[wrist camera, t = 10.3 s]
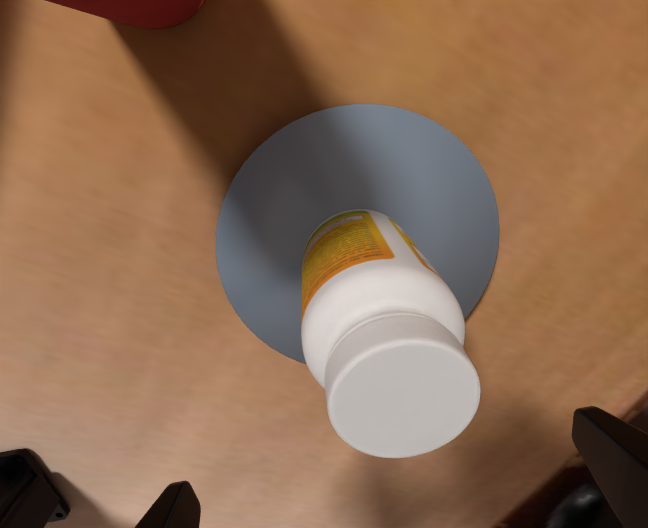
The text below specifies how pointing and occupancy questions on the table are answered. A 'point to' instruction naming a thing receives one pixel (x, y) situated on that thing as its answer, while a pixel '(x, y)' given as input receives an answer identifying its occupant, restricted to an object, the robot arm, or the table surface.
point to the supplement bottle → (384, 338)
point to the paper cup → (138, 11)
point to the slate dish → (351, 208)
